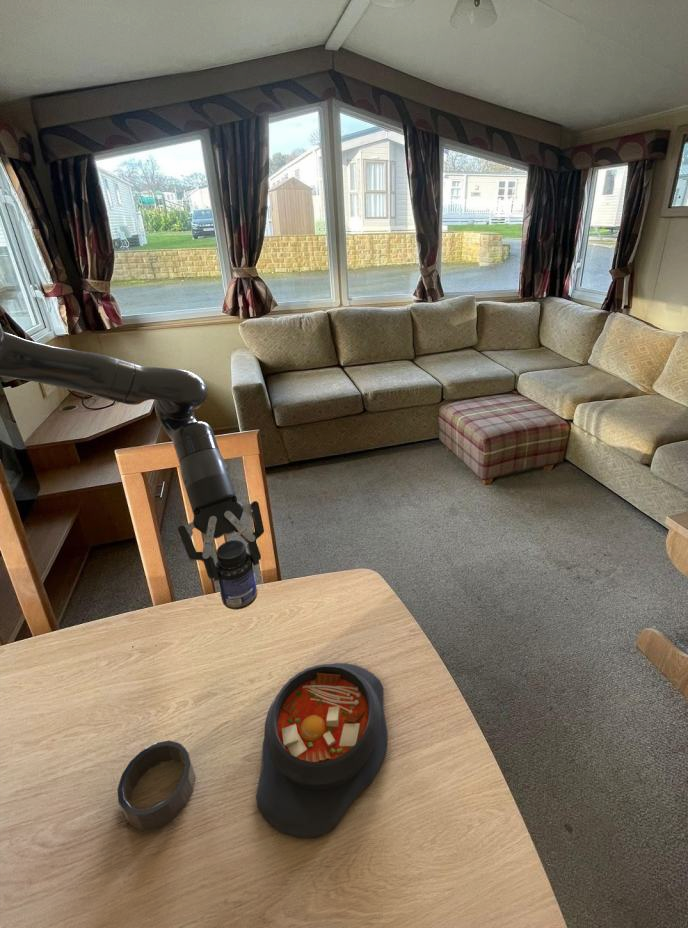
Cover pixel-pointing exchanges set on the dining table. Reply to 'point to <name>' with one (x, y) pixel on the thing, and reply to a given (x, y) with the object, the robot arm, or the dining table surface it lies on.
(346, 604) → the dining table surface
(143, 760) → the ring
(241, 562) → the pill bottle
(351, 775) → the casserole
